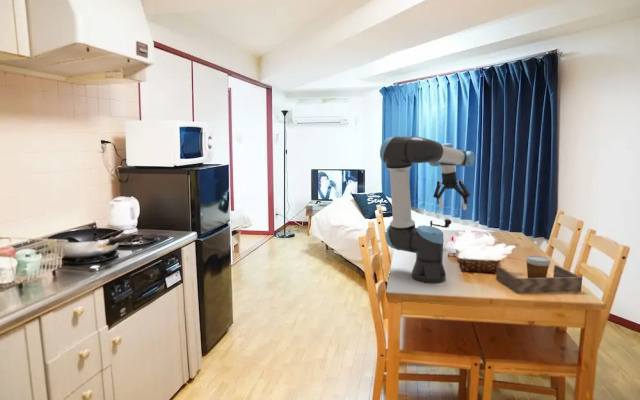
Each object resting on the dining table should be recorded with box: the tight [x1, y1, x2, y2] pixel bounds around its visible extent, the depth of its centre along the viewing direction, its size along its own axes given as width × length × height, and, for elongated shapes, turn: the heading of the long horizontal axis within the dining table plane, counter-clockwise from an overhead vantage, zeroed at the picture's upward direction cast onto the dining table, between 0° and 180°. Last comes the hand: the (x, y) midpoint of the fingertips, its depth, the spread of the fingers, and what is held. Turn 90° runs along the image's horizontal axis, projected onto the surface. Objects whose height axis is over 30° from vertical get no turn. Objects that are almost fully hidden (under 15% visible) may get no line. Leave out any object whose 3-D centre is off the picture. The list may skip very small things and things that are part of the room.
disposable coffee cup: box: [525, 255, 551, 278], centre depth 178 cm, size 10×10×12 cm
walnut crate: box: [495, 264, 583, 294], centre depth 178 cm, size 28×17×6 cm, turn 93°
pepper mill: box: [429, 218, 452, 229], centre depth 238 cm, size 16×11×18 cm
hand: (453, 209), depth 226 cm, fingers open, 13 cm apart
